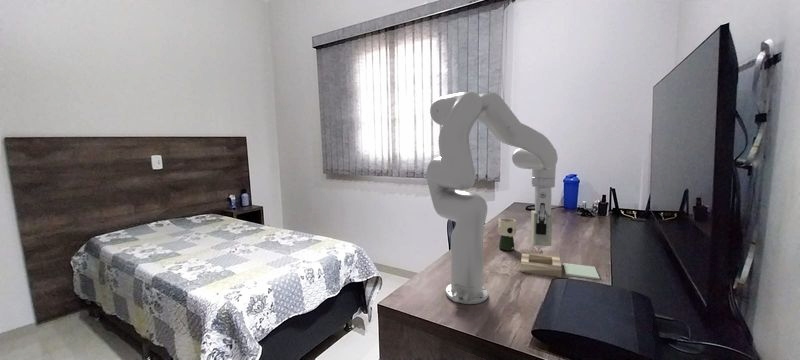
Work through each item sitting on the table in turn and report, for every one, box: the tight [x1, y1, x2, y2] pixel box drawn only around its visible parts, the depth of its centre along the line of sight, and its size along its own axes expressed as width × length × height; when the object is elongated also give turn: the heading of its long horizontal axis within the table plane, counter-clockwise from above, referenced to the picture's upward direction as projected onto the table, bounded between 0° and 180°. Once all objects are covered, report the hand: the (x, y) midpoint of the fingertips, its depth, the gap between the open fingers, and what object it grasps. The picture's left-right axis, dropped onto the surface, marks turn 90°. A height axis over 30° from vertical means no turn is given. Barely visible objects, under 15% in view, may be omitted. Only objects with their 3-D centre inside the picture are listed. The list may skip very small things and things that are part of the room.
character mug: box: [497, 217, 517, 251], centre depth 133 cm, size 11×7×13 cm, turn 122°
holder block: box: [520, 251, 563, 278], centre depth 114 cm, size 13×13×3 cm
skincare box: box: [530, 210, 553, 247], centre depth 112 cm, size 6×4×12 cm
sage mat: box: [563, 262, 601, 281], centre depth 110 cm, size 10×10×1 cm
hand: (540, 231), depth 112 cm, fingers closed on skincare box, 5 cm apart
